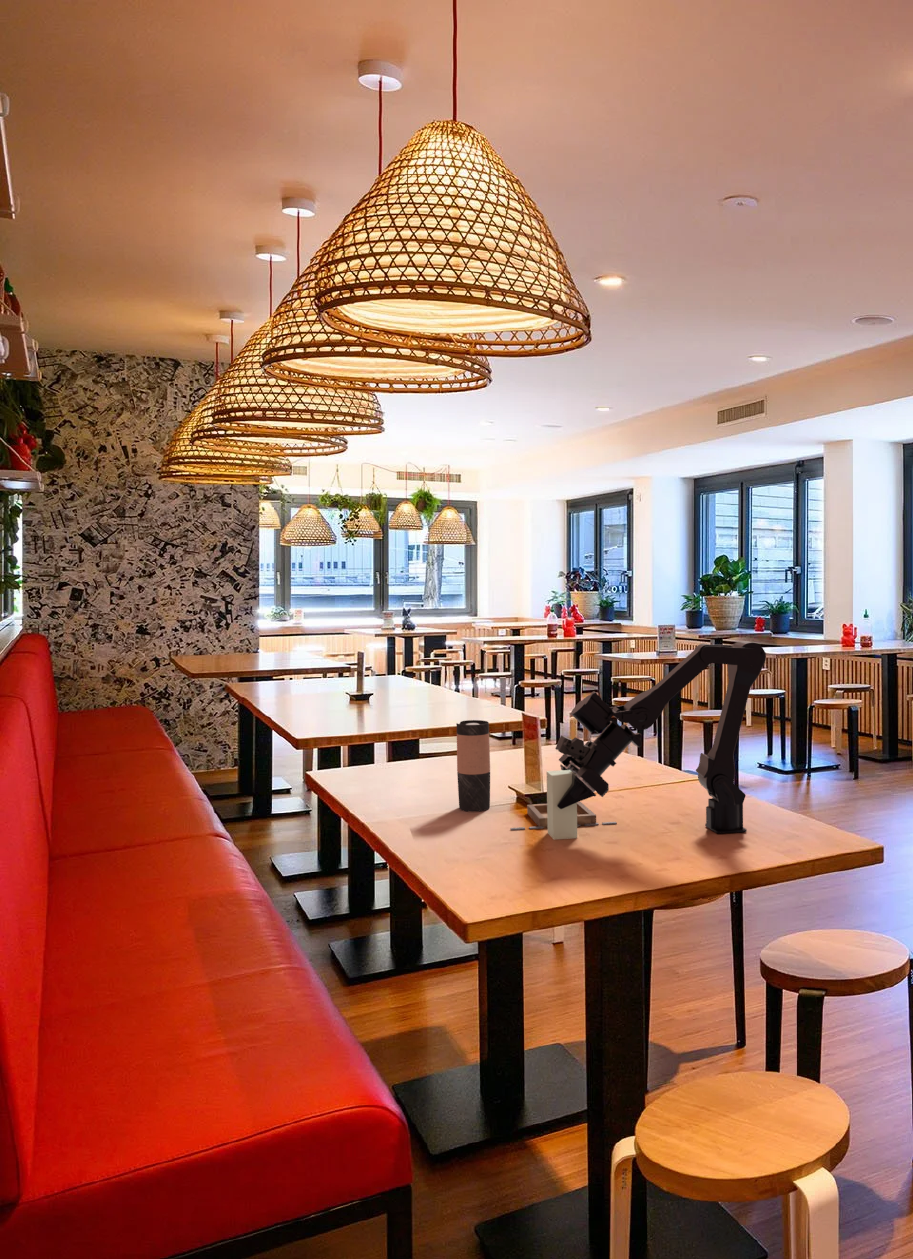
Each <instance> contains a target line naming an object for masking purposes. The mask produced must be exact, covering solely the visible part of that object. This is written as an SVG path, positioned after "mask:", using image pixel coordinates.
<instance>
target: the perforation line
mask: <svg viewBox="0 0 913 1259" xmlns="http://www.w3.org/2000/svg"><path fill="white" fill-rule="evenodd" d="M599 824H600V823H598V822H596V823H588V824H584V825H583V826H584V827H587V826H588V827H590V826H599ZM601 824H602V825H603V826H604V825H605V826H606V825H607V826H610V825H617V824H618V822H616V821H607V822H601ZM577 827H581V825H580V824H577ZM528 829H529V830H537V829H538V830H539V829H544V827H543V826H538V825H536V826H529V827H528ZM520 830H521V831H523V830H526V827H524V826H522V827H510V831H520Z"/></svg>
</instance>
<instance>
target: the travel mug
mask: <svg viewBox="0 0 913 1259" xmlns="http://www.w3.org/2000/svg"><path fill="white" fill-rule="evenodd" d="M490 751H491V750H490V722H489V721H487V720H483V719H481V720H479V719H473V720H472V719H469V720H468V719H467V720H461V721H460V722H459V723H458V722H456V771H457V773H456V775H457V791H458V793H457V794H458V808H459V810H460V809H461V811H463V810H464V811H463V812H468V811H479V812H485V811H488V810H489V809H490V807H491V756H490V755H491V754H490V753H491V752H490Z"/></svg>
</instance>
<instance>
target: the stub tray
mask: <svg viewBox="0 0 913 1259" xmlns="http://www.w3.org/2000/svg"><path fill="white" fill-rule="evenodd" d="M526 809H527V810H526V811H527V812H526V814H527V815H528V816H529V817H530V819H531V820H532V821H533V822H534V823H535V824H536V826H543V827H544V828H548V825H547V803H537V804H534V803H533V804H527V805H526ZM588 823H597V814H595V813H594V811H592V810H591V809H589V808H588V807H587V806H586V805H585V804H584V803H583V802H582V801H580V802H577V824H580V826H584V824H588ZM544 828H543V829H544Z"/></svg>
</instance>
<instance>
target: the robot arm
mask: <svg viewBox="0 0 913 1259" xmlns="http://www.w3.org/2000/svg"><path fill="white" fill-rule="evenodd" d="M766 660H767V653H766V652H765V649H764V648H763V647H762V645H760V644H758V643H756V642H752V641H748V640H739V641H736V642H734V643H733V644H708V643H704V642H703V643H700V644H698V645H696V646H695V648H694V650H693V651H691V652H690V654H688V655H687V656H686V657H685V658H684V659H683V660H682V661H680V662H679V663H678V664H677V665H676V666H675V667H674V668H672V670H670V671H669V672H668V673H667V674H666V675H665V676H664V677H663V678H662V679H660V681H658V682H657V683H656V684H655V685H654V686H652V687H650V688H649V689H646V690H645V691H642V692H641V693H638V694H637V695H635V696H634V697H632V698H631V699H629V700H628V701H627V702H626V703H625V704H624V705H623V704H621V705H616V706H611V707H610V706H609V705H608V704H607V703H606V702H605V701H604V700H603V699H602V698H601V696H600V695H599V694H598V693H597V692H596V691H592V692H591V693H590V694H588V695H587V696H585V697H584V698H583V699H582V700H579V702H577V704H576V705H575V706H574V707H573V709H572V710H571V712H570V715H571V716H572V717H573V718H574V719H575V720H576V721H577V722H579V724H580V725H581V726H582V727H583V728H585V729H586V731H588V732H589V733H591V734H592V733H594V732H596V733H597V734H598V733H600V732H601V733H600V734H599V735H598V736H597V737H596V738H595V739H594V740H593V741H592V740H588V741H587V742H585V741H584V740H583V739H580V738H577V737H574V738H569V737H567V736H565V735H562V734H561V735H560V737H559V738H558V742H557V744H556V746H555V750H556V751H558V752H559V753H561V754H562V755H561V756H560V757H559V759H558V761H559V762H560V766H559V767H560V770H571V771H572V772H573V773H575V774H576V775H574V774H573V773H572V784H571V786H570V787H569V788H568V790H567V791H566V793H565V794H564V796H563V797H562V798H561V800H560V801H559V803H558V805H557V806H558V807H559V808H560V809H563V808H565V807H568V806H570V805H572V804H575V803H577V802H582V801H584V800H585V801H586V800H587V799H589V798H592V797H596V796H597V794H598V795H599V796H600V797H602V798H604V796H605V795H606V794H607V793H608V792H609V788H610V787H609V785H610V784H609V783H608V782H607V781H606V780H605V779H604V778H603V776H602V775H603V774H604V773H605V771H606V770H607V769H608V768H609V767H610V766H611V767H615V765H616V764H617V762H616V761H615V760H616V759H617V758H618V757H619V756H620V755H621V754H622V753H623V752H624V751H625V750H626V749H627V747H628V746H630V744H631V743H632V744H633V745H634V746H636V747H637V748H642V734H641V733H639V732H634V731H632V729H631V728H629V727H628V726H627V724H629V726H631V727H632V728H633V729H635V730H638V731H641V730H642V731H645V730H648V729H649V728H651V727H652V726H653V725H654V724H655V722H656V721H657V720H658V719H659V717H660V716H661V715H662V713H663V711H664V710H665V708H666V706H667V705H668V704H669V702H670V701H671V700H672V699H673V698H674V697H675V696H676V695H678V694H679V693H680V692H681V691H682V690H683V689H684V688H685V687H686V686H687V685H689V683H691V682H692V681H694V679H695V678H696V677H698V676H699V674H701V673H702V672H703V671H704V670H705V669H706V668H707V667H709V666H710V665H712V664H714V665H715V664H720V665H727V674H728V675H727V676H728V677H727V678H728V683H727V688H726V692H725V695H724V698H723V699H724V700H723V704H722V708H721V711H720V716H719V720H718V723H717V727H716V732H715V736H714V739H713V744H712V746H711V749H710V750H709V751H708V753H707V754H706V753H703V752H702V753H700V754H699V764H698V766H697V768H696V769H695V772H696V773H697V780H698V781H699V783H700V786H702V787H703V789H706V791H707V793H708V795H709V796H710V797H711V798H707V800H708V801H707V802H708V804H707V806H705V824H704V825H705V827H706V828H707V829H710V830H711V831H713V832H714V833H715V834H731V833H732V834H733V833H744V832H747V828H745V827H744V801H745V800H746V795H747V794H746V793H745V792H743V790H741V788H739V787H738V785H736V783H735V777H736V767H735V766H736V764H735V751H736V748H737V747H736V746H737V743H738V738H739V735H740V730H741V726H742V722H743V719H744V715H745V711H746V707H747V703H748V698H749V696H750V695H749V694H750V691H751V688H752V686H753V685H754V683H755V681H756V680H757V679H758V678H759V676H760V674H761V672H762V670H763V668H764V665H765V663H766ZM612 717H614V718H615V719H617V721H619V723H625V724H622V725H620V724H619V723H617V721H616V720H614V719H613V718H612ZM595 792H596V793H597V794H596V793H595Z"/></svg>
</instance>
